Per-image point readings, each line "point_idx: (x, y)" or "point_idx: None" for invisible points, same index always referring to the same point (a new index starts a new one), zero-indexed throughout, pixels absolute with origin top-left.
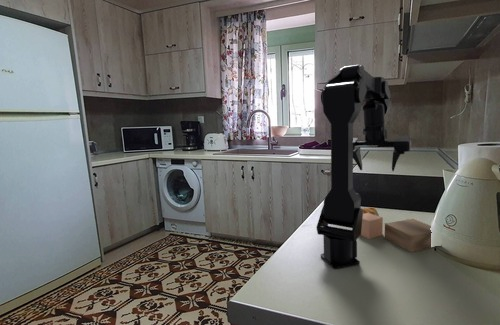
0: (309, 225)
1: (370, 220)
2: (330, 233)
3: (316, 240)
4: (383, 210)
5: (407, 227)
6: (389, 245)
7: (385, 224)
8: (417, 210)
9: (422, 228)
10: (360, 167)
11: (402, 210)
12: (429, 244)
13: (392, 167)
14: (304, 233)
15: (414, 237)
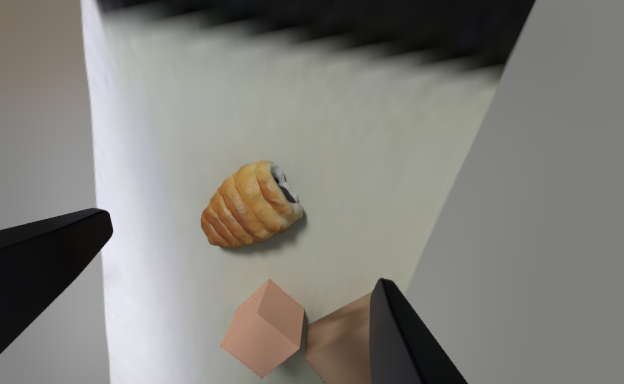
0: (115, 276)
1: (265, 372)
2: None
3: (162, 358)
4: (325, 85)
5: (358, 378)
6: None
7: (306, 358)
8: (458, 59)
9: None
10: (78, 267)
11: (398, 70)
12: None
13: (374, 355)
14: (123, 327)
15: None
